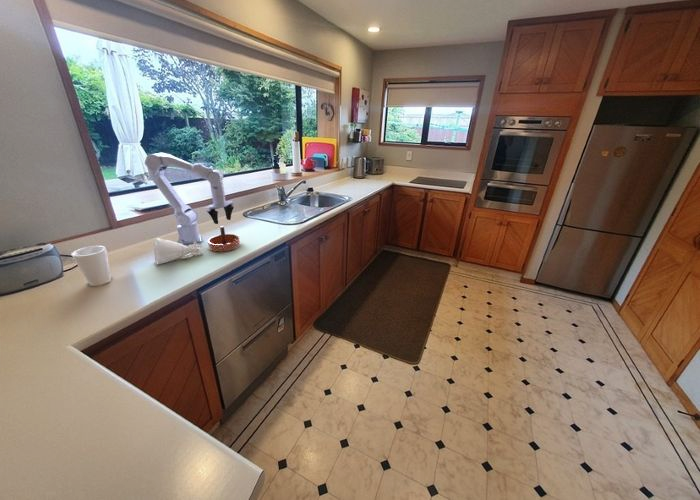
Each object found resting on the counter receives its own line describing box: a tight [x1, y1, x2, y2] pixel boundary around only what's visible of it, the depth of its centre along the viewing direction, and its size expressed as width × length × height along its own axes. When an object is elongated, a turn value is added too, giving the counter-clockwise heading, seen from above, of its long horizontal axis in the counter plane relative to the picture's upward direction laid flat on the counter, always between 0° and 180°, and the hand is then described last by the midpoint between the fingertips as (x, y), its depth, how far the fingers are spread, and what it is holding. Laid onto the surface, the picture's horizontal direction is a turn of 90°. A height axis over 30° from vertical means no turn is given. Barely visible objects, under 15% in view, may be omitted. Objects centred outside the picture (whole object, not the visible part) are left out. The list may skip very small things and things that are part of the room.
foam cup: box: [70, 245, 112, 287], centre depth 104 cm, size 10×9×13 cm
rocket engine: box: [153, 237, 203, 265], centre depth 126 cm, size 12×12×18 cm
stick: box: [219, 225, 227, 244], centre depth 138 cm, size 2×2×10 cm
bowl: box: [207, 233, 241, 253], centre depth 140 cm, size 14×14×4 cm
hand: (222, 221), depth 144 cm, fingers open, 7 cm apart
